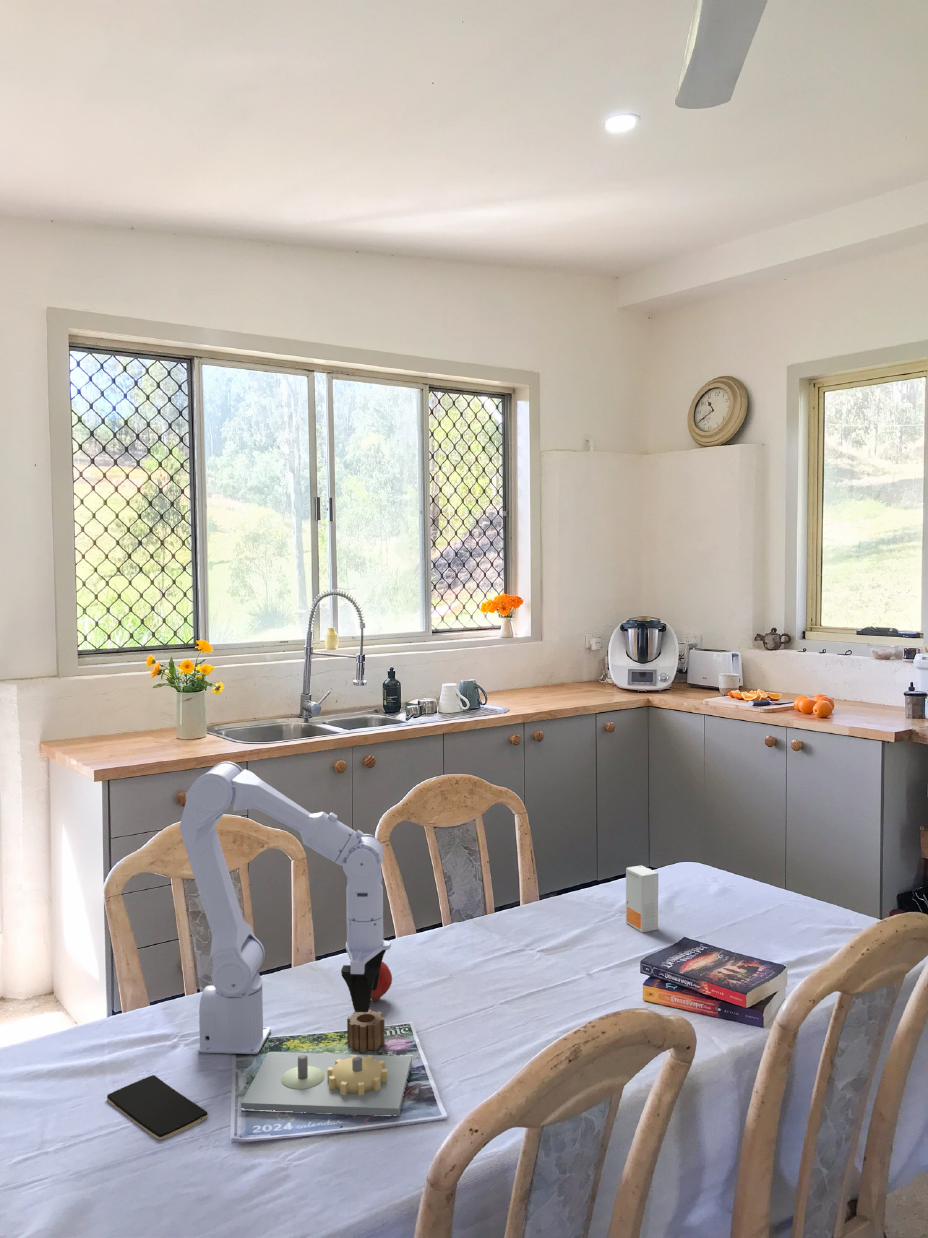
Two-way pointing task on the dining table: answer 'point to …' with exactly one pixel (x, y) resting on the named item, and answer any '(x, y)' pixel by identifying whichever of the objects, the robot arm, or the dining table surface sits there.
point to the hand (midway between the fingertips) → (366, 1000)
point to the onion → (382, 982)
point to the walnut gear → (365, 1031)
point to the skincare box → (642, 898)
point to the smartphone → (157, 1107)
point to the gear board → (329, 1083)
